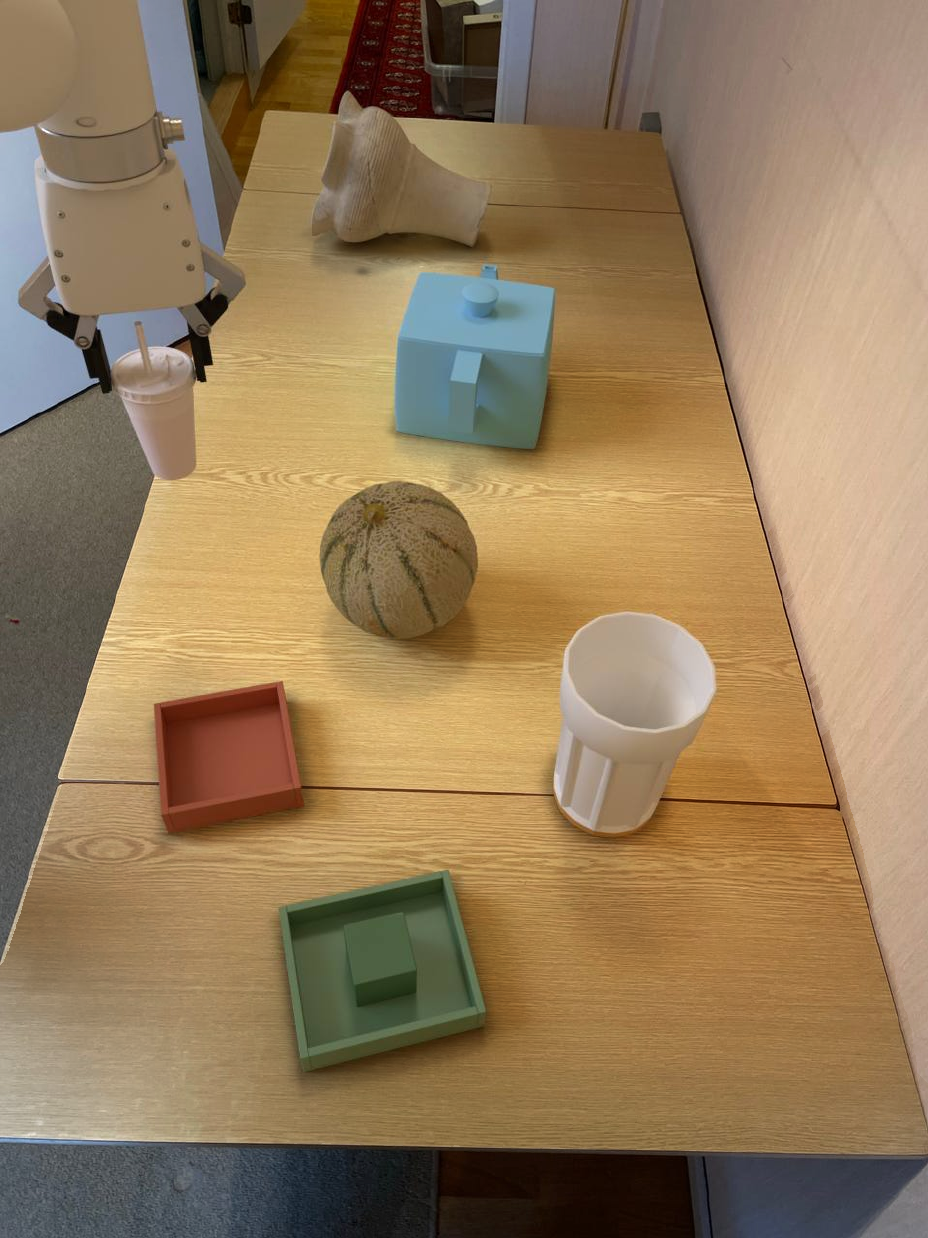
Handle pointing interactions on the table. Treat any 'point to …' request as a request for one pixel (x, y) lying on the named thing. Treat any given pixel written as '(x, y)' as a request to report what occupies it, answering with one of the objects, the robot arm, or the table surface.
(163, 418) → the smoothie
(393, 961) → the green block
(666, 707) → the cup
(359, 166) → the vase
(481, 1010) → the green tray
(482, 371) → the container
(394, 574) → the cantaloupe
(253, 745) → the terracotta tray
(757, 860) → the table surface
